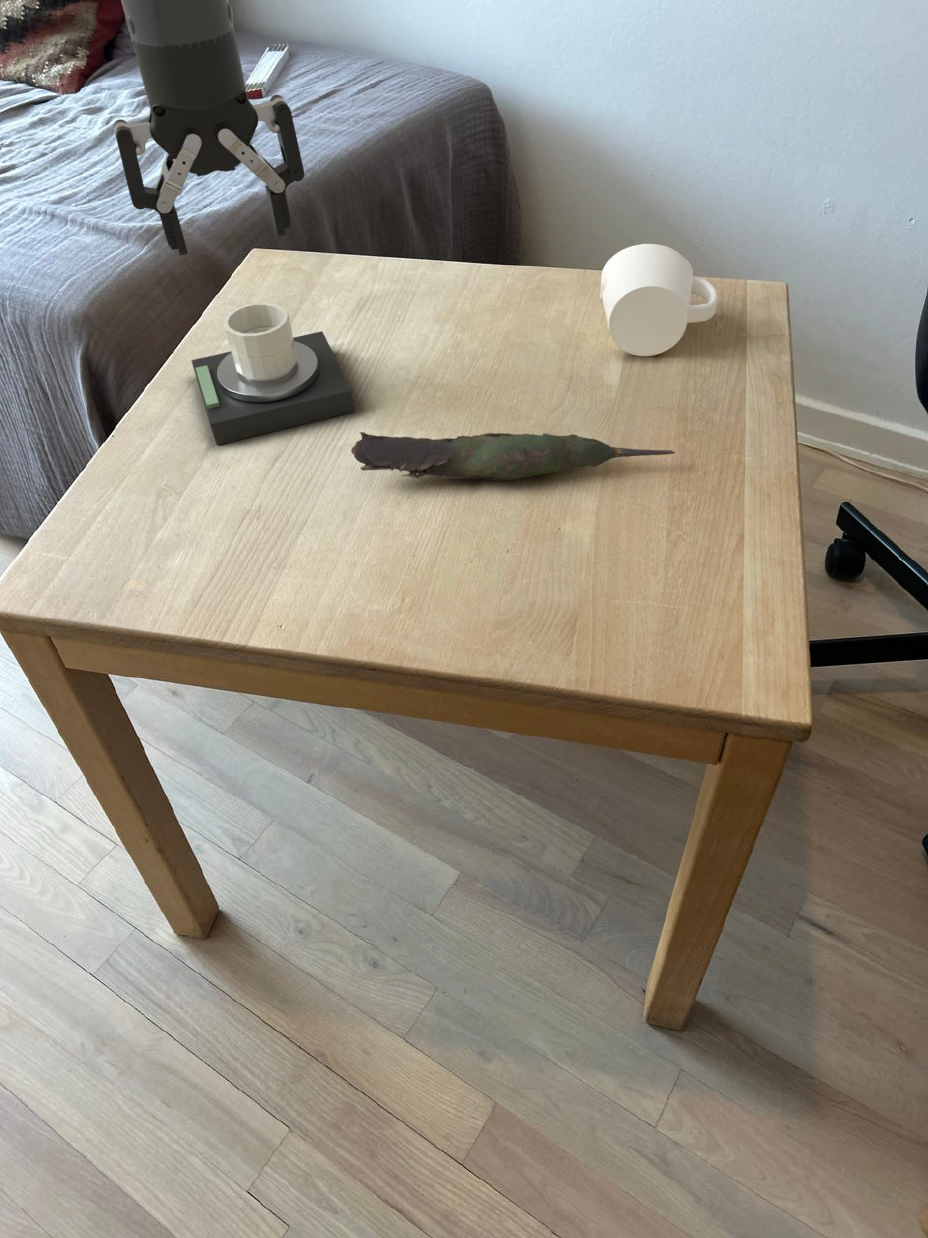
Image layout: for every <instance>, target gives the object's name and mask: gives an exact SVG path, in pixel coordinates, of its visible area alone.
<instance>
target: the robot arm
mask: <svg viewBox="0 0 928 1238" xmlns="http://www.w3.org/2000/svg"><path fill="white" fill-rule="evenodd" d="M120 1H121V6H122V9H123V13H124V17H125V18H124V20H125V24H126V28H127V29H128V32H129V35H130V39H131V42H132V47H133V49H134V54H135V58H136V61H137V64H138V65H137V66H138V68H139V72H140V76H141V80H142V84H143V87H144V91H145V95H146V98H147V102H148V105H149V118H148V121H142V122H141V121H140V122H131V123H130V122H127V121H126V120H124V119H121V118H120V119H116V120H115V121H114V123H113V131H114V135H115V139H116V143H117V148H118V152H119V156H120V160H121V164H122V168H123V172H124V176H125V181H126V186H127V190H128V192H129V196H130V201H131V204H132V206H133V207H134V208H135V209H137V210H139V211H140V210H145V209H149V210H153V211H155V212H156V213H157V214H158V215H159V219H160V222H161V225H162V228H163V232H164V235H165V239H166V243H167V245H168V246H169V248H170V249H171V251H175V250H177V251H178V254H179V256H181V257H182V256H186V255H187V256H188V255H189V253H188V252H189V251H188V248H187V244H186V241H185V238H184V234H183V231H182V227H181V223H180V219H179V215H178V212H177V209H176V206H175V202H176V200H177V197H178V195H179V193H180V191H181V190H182V189H183V187H184V185H185V182H186V180H187V178H188V175H189V173H190V174H193V175H196V177H204V176H207V175H210V174H212V173H214V172H224V173H225V172H226V173H227V172H233V171H236V168H237V167H238V166H240V164H243V165H244V166H245V167H246V168H247V169H248V170H249V171H250V172H251V173H252V174H254V176H256V177H257V178H259V179H260V180H261V182H263V184H265V185H264V188H265V194H266V199H267V204H268V208H269V215H270V219H271V224H272V228H273V231H274V233H275V236H276V237H277V238H279V237H284V236H286V230H285V229H290V226H291V215H290V210H289V204H288V199H287V188H288V187H289V186H290V185H291V184H292V183H295V182H301V181H303V179H304V178H305V169H304V165H303V160H302V154H301V151H300V146H299V142H298V136H297V132H296V128H295V124H294V118H293V114H292V109H291V107H290V106H289V104H288V103H287V102H286V100H285V99H284V98H283V96H282V95H279V94H274V95H272V96H271V97H270V99H269V101H265V102H262V103H257V104H252V102H250V98H249V96H248V92H247V87H246V82H245V78H244V72H243V67H242V63H241V56H240V52H239V46H238V41H237V36H236V32H235V31H236V30H235V26H234V22H233V21H234V20H233V19H234V14H233V13H234V12H233V8H232V5H231V3H230V0H120ZM259 122H263V123H265V125H266V127H267V128H268V130H269V132H271V133H272V134H276V136H277V140H278V145H279V149H280V152H281V157H282V161H283V162H281V163H280V164H278V165H277V166H274V165H272V163H270V162H269V160H268V159H266V157H264V156H263V155H262V153H261V152H260V150H258V149H257V148H256V147H255V146H254V145H253V144H252V143H251V142H252V140H253V138H254V135H255V133H256V131H257V128H258V126H259ZM151 139H152V140H153V141H154V142H155V143H156V145H158V146H159V147H160V148H161V149H162V150H163V151H164V152H166V154H165V155H166V156H165V158H164V160H163V162H162V166H161V170H160V175H159V177H158V180H157V182H156V184H155V186H154V187H149V186H145V183H144V181H143V176H142V172H141V171H142V170H141V167H140V162H139V159H138V156H142V155H144V154H145V152H146V143H148V141H149V140H151Z"/></svg>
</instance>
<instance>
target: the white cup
mask: <svg viewBox="0 0 928 1238" xmlns="http://www.w3.org/2000/svg"><path fill="white" fill-rule="evenodd" d="M223 326H224V330H225V334H226V338H227V341H228V345H229V349H230V350H229V351H230V352H231V353H232V357H233V361H234V365H235V368H236V370H237V372H238V373H240V374H241V375H243V376H244V377H246V378H248V379H250V380H254V381H270V380H274V379H278V378H280V377H282V376H284V375H286V374H287V373H289V372H290V371H291V369H292V368H293V367H294V366H295V364H296V360H297V354H296V349H295V344H294V339H293V338H294V335H293V330H292V325H291V319H290V314H289V312H288V311H287V309H286V308H285V307H283V306H282V305H280V304H277V303H273V302H268V301H266V302H265V301H264V302H261V301H260V302H253V303H246V304H244V305H241V306H238V307H236V308H233V309H232V310H231V311H230V312H229V313H228V314H226V316H225V318H224V320H223Z"/></svg>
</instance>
